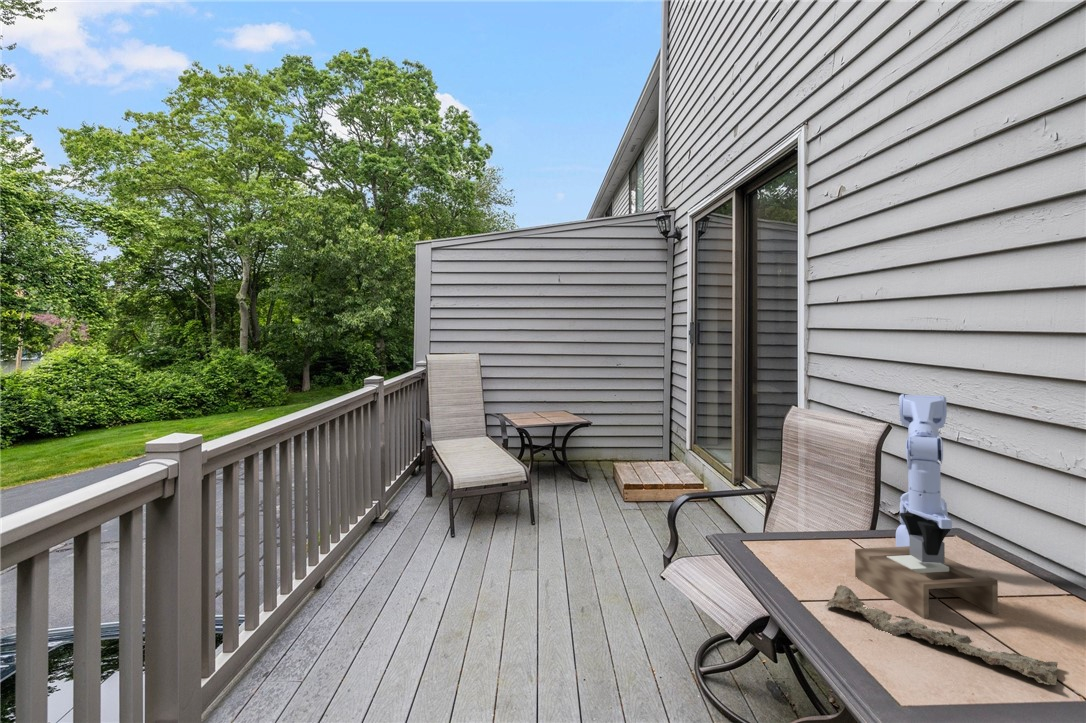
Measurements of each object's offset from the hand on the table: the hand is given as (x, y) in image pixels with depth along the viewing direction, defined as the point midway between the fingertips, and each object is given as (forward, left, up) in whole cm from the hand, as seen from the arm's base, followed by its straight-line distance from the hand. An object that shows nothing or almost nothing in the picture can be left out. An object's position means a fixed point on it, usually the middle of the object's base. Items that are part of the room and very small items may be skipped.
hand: (924, 550), depth 109 cm
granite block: (0, 0, -2) cm, 2 cm away
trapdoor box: (-1, 0, -10) cm, 10 cm away
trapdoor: (-2, 0, -4) cm, 5 cm away
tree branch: (+15, -13, -11) cm, 23 cm away
